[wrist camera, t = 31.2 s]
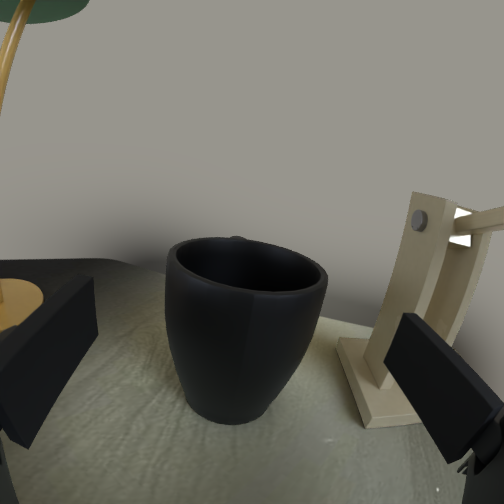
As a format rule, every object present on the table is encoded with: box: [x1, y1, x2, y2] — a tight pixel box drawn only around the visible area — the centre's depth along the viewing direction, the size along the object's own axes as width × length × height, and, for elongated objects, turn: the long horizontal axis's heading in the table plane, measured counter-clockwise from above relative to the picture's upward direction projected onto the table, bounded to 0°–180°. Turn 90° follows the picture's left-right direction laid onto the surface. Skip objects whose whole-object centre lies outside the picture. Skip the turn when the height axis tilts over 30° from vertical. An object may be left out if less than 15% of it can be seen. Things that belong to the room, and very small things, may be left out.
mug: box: [165, 236, 328, 425], centre depth 18 cm, size 8×12×10 cm
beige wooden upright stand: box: [336, 192, 492, 429], centre depth 18 cm, size 10×8×15 cm
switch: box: [447, 206, 504, 250], centre depth 12 cm, size 12×6×2 cm, turn 179°
